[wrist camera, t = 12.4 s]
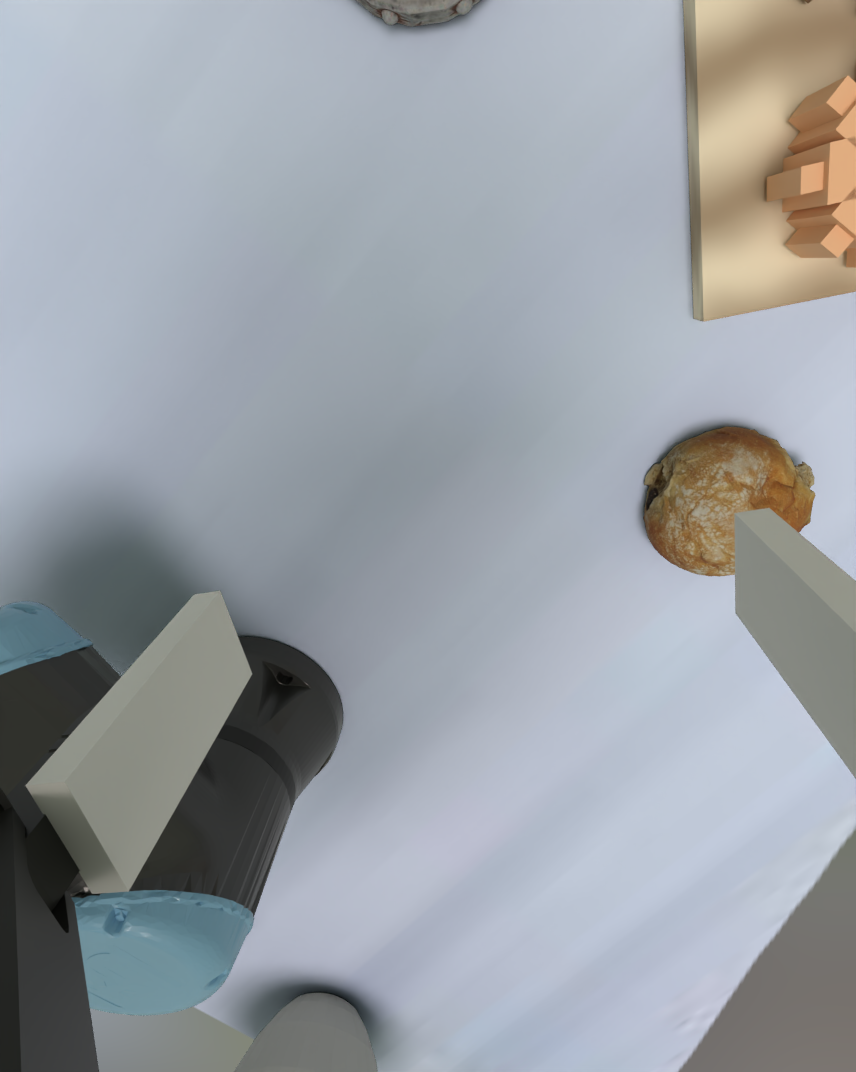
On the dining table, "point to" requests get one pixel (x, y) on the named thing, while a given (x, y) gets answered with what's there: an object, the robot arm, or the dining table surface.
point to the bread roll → (720, 496)
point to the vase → (312, 1039)
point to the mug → (417, 10)
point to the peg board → (755, 145)
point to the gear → (821, 175)
